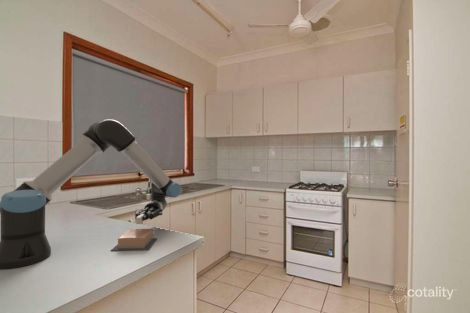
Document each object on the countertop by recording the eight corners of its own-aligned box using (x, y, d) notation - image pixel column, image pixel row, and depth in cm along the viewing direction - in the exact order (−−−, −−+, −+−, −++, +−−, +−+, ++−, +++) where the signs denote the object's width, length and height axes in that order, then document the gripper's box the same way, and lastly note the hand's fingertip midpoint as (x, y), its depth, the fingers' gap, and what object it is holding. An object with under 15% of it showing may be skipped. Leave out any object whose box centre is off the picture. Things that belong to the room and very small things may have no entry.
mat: (148, 250, 91) (148, 249, 91) (110, 251, 91) (110, 250, 91) (157, 238, 104) (157, 238, 104) (124, 239, 103) (124, 238, 103)
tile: (152, 237, 105) (144, 248, 93) (129, 238, 104) (117, 248, 92) (153, 228, 105) (144, 237, 93) (129, 228, 104) (118, 238, 92)
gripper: (166, 216, 124) (153, 229, 100) (140, 216, 123) (121, 230, 100) (166, 201, 124) (154, 211, 101) (140, 201, 123) (122, 212, 100)
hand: (138, 220), depth 100 cm, fingers closed
